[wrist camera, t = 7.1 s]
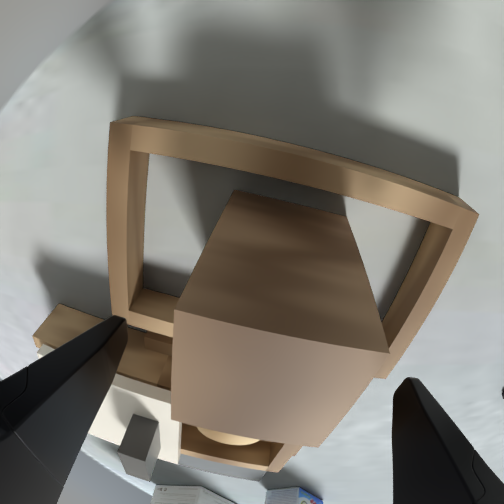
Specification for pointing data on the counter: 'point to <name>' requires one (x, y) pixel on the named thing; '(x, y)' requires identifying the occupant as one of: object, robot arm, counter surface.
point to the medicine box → (290, 496)
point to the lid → (136, 424)
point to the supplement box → (186, 495)
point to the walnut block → (275, 325)
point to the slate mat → (220, 468)
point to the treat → (226, 437)
